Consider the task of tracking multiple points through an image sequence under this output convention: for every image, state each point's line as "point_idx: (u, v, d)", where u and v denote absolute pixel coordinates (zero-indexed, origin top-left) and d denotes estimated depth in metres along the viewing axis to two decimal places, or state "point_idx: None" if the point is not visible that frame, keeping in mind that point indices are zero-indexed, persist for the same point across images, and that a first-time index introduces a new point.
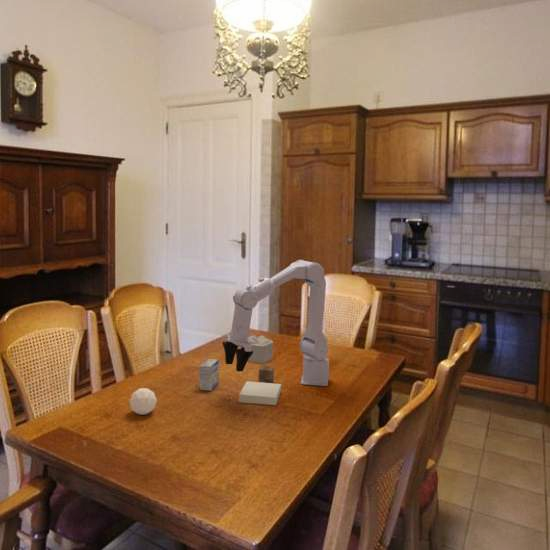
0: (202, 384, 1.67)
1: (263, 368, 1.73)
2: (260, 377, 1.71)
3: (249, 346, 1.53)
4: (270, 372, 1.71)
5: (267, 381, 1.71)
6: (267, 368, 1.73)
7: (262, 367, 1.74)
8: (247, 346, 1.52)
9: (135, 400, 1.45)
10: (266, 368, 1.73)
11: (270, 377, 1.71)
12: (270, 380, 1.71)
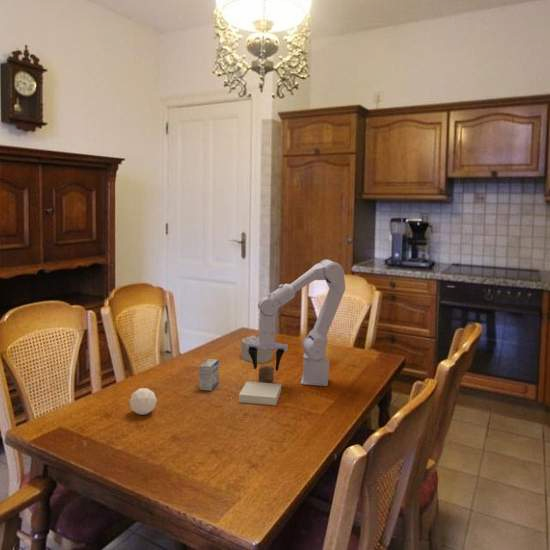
0: (202, 384, 1.67)
1: (263, 368, 1.73)
2: (260, 377, 1.71)
3: (287, 345, 1.71)
4: (270, 372, 1.71)
5: (267, 381, 1.71)
6: (267, 368, 1.73)
7: (262, 367, 1.74)
8: (287, 346, 1.70)
9: (135, 400, 1.45)
10: (266, 368, 1.73)
11: (270, 377, 1.71)
12: (270, 380, 1.71)
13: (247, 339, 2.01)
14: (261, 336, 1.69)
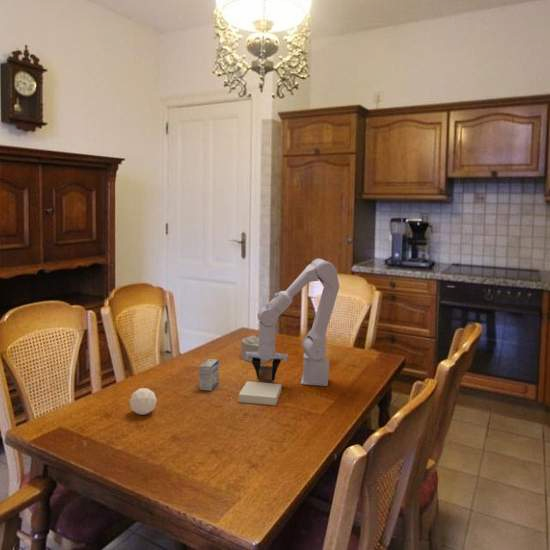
0: (202, 384, 1.67)
1: (263, 368, 1.73)
2: (260, 377, 1.71)
3: (287, 356, 1.71)
4: (270, 372, 1.71)
5: (267, 381, 1.71)
6: (267, 368, 1.73)
7: (262, 367, 1.74)
8: (286, 356, 1.71)
9: (135, 400, 1.45)
10: (266, 368, 1.73)
11: (270, 377, 1.71)
12: (270, 380, 1.71)
13: (247, 339, 2.01)
14: (261, 346, 1.70)
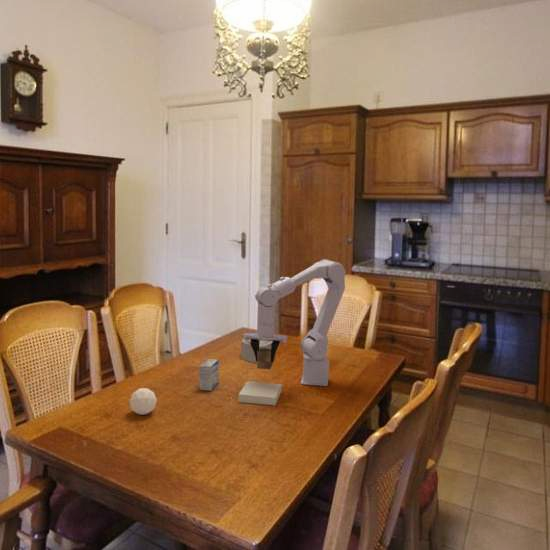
0: (202, 384, 1.67)
1: (262, 350, 1.69)
2: (259, 359, 1.67)
3: (286, 337, 1.67)
4: (269, 354, 1.66)
5: (266, 363, 1.67)
6: (266, 349, 1.69)
7: (261, 349, 1.69)
8: (286, 338, 1.66)
9: (135, 400, 1.45)
10: (265, 350, 1.68)
11: (269, 359, 1.67)
12: (269, 362, 1.67)
13: None
14: (259, 327, 1.66)
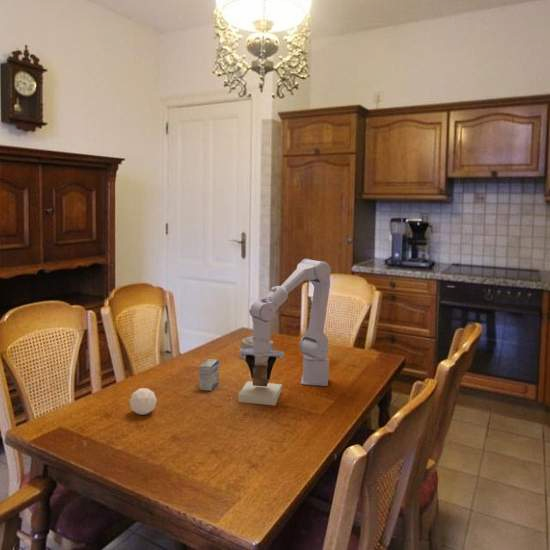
0: (202, 384, 1.67)
1: (258, 366, 1.61)
2: (254, 376, 1.60)
3: (283, 353, 1.60)
4: (265, 370, 1.59)
5: (262, 380, 1.60)
6: (262, 366, 1.62)
7: (256, 365, 1.62)
8: (282, 354, 1.59)
9: (135, 400, 1.45)
10: (261, 366, 1.61)
11: (265, 376, 1.60)
12: (265, 379, 1.60)
13: (247, 339, 2.01)
14: (255, 343, 1.58)
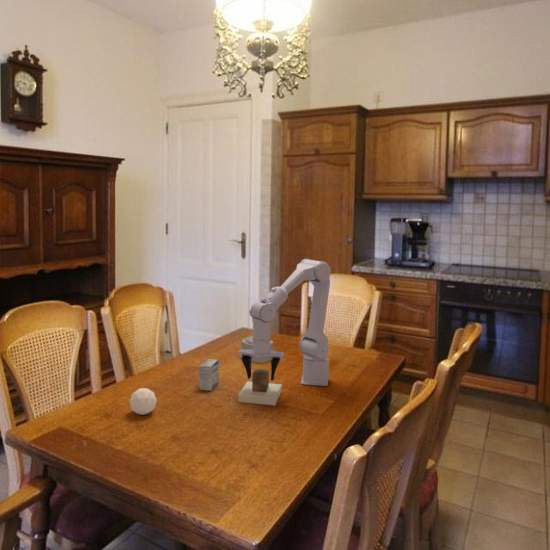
0: (202, 384, 1.67)
1: (257, 372, 1.62)
2: (254, 381, 1.61)
3: (283, 354, 1.60)
4: (264, 376, 1.60)
5: (261, 386, 1.60)
6: (261, 371, 1.62)
7: (256, 371, 1.63)
8: (282, 354, 1.59)
9: (135, 400, 1.45)
10: (260, 372, 1.62)
11: (264, 381, 1.60)
12: (264, 385, 1.60)
13: (247, 339, 2.01)
14: (255, 344, 1.58)
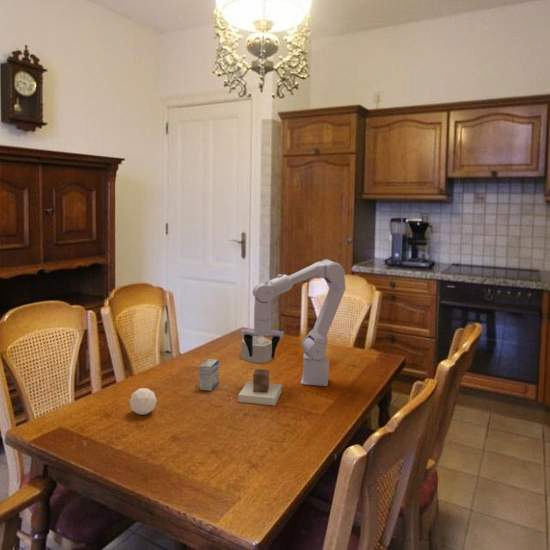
0: (202, 384, 1.67)
1: (258, 372, 1.61)
2: (255, 382, 1.60)
3: None
4: (265, 376, 1.60)
5: (262, 386, 1.60)
6: (262, 372, 1.62)
7: (257, 371, 1.62)
8: (282, 333, 1.68)
9: (135, 400, 1.45)
10: (261, 372, 1.61)
11: (265, 382, 1.60)
12: (265, 385, 1.60)
13: None
14: (256, 323, 1.67)
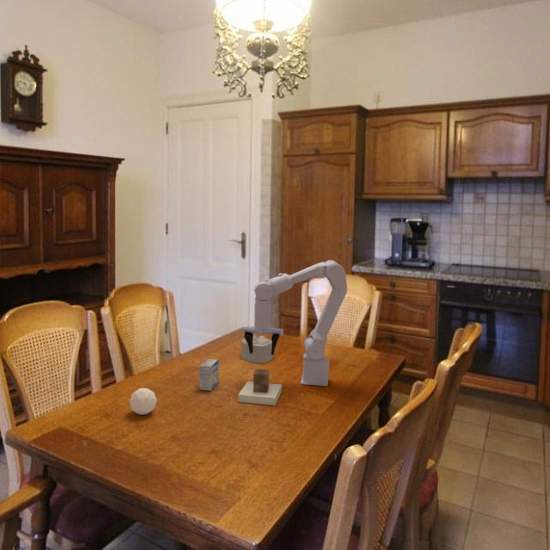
0: (202, 384, 1.67)
1: (258, 372, 1.61)
2: (255, 382, 1.60)
3: (282, 330, 1.72)
4: (266, 376, 1.60)
5: (262, 386, 1.60)
6: (262, 372, 1.62)
7: (257, 371, 1.62)
8: (282, 331, 1.72)
9: (135, 400, 1.45)
10: (261, 372, 1.61)
11: (266, 381, 1.60)
12: (266, 385, 1.60)
13: None
14: (257, 321, 1.71)
